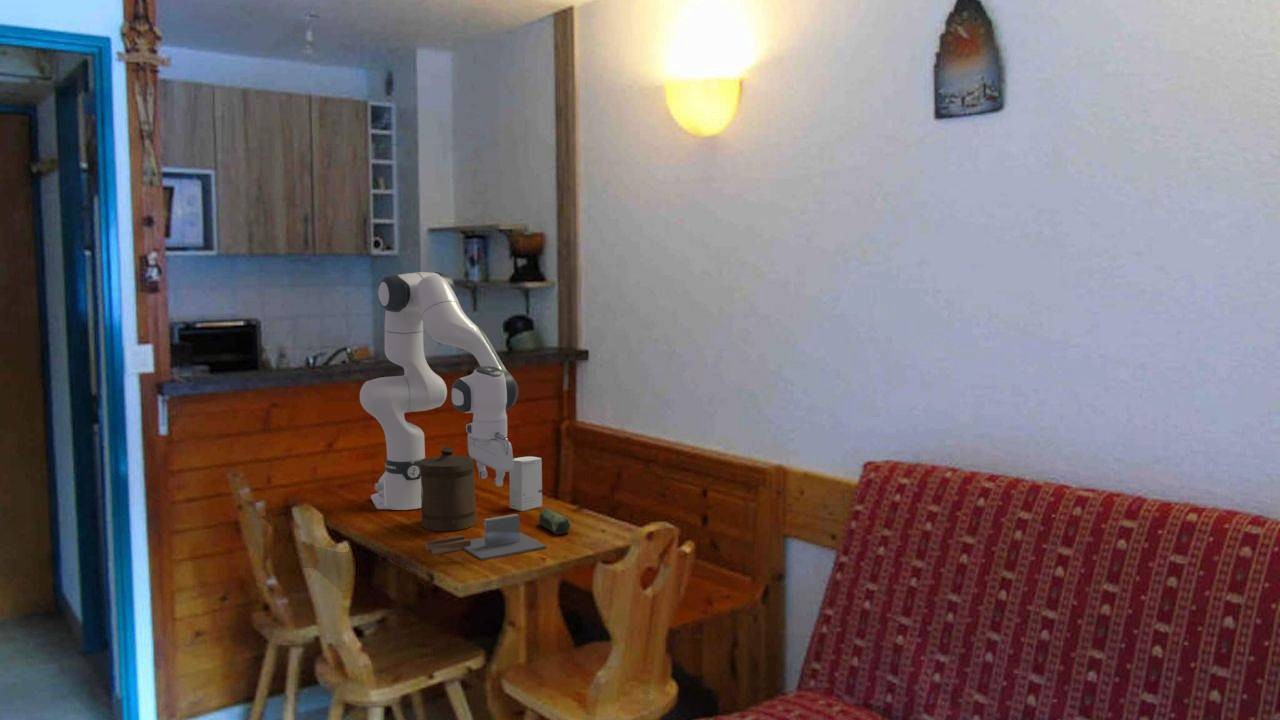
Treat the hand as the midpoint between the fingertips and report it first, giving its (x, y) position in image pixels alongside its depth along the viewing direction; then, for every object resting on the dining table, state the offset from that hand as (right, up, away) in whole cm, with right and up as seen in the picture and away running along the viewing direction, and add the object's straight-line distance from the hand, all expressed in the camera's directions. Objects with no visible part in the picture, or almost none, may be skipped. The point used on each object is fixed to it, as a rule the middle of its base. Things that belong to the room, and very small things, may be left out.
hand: (490, 481), depth 261 cm
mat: (+3, -16, -2) cm, 17 cm away
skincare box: (+5, -12, +36) cm, 38 cm away
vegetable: (+15, -15, +13) cm, 25 cm away
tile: (+3, -16, -2) cm, 16 cm away
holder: (-10, -17, -4) cm, 20 cm away
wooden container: (-14, -14, +18) cm, 27 cm away
